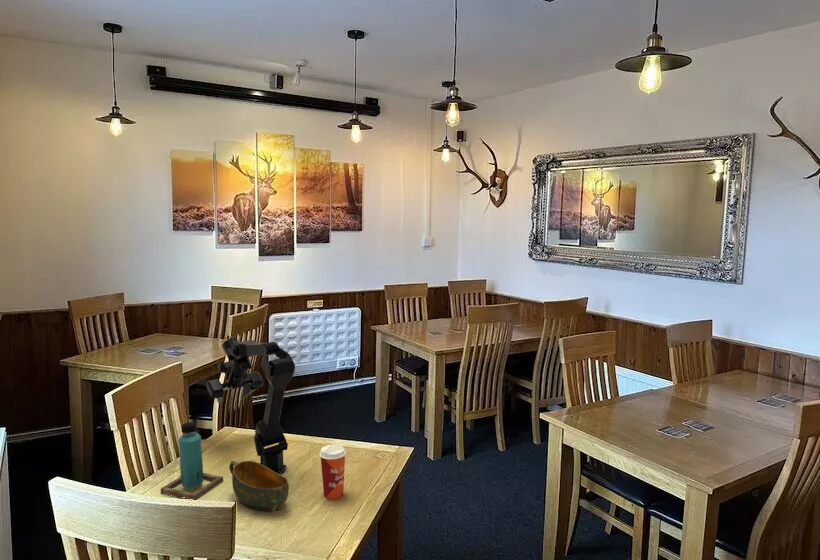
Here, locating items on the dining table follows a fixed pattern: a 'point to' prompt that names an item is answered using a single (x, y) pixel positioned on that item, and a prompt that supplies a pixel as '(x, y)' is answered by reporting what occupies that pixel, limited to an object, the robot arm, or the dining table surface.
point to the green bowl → (258, 486)
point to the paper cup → (333, 470)
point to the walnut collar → (215, 481)
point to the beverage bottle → (190, 456)
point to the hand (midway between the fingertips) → (231, 400)
